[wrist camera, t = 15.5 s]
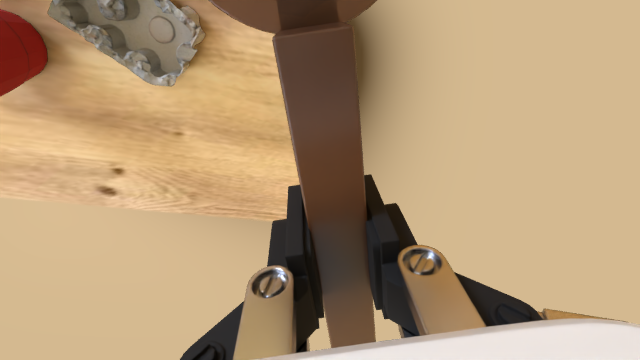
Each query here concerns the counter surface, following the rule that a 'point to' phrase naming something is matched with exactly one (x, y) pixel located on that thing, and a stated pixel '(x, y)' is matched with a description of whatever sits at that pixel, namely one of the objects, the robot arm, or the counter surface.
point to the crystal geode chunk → (136, 33)
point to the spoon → (324, 145)
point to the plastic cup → (19, 52)
